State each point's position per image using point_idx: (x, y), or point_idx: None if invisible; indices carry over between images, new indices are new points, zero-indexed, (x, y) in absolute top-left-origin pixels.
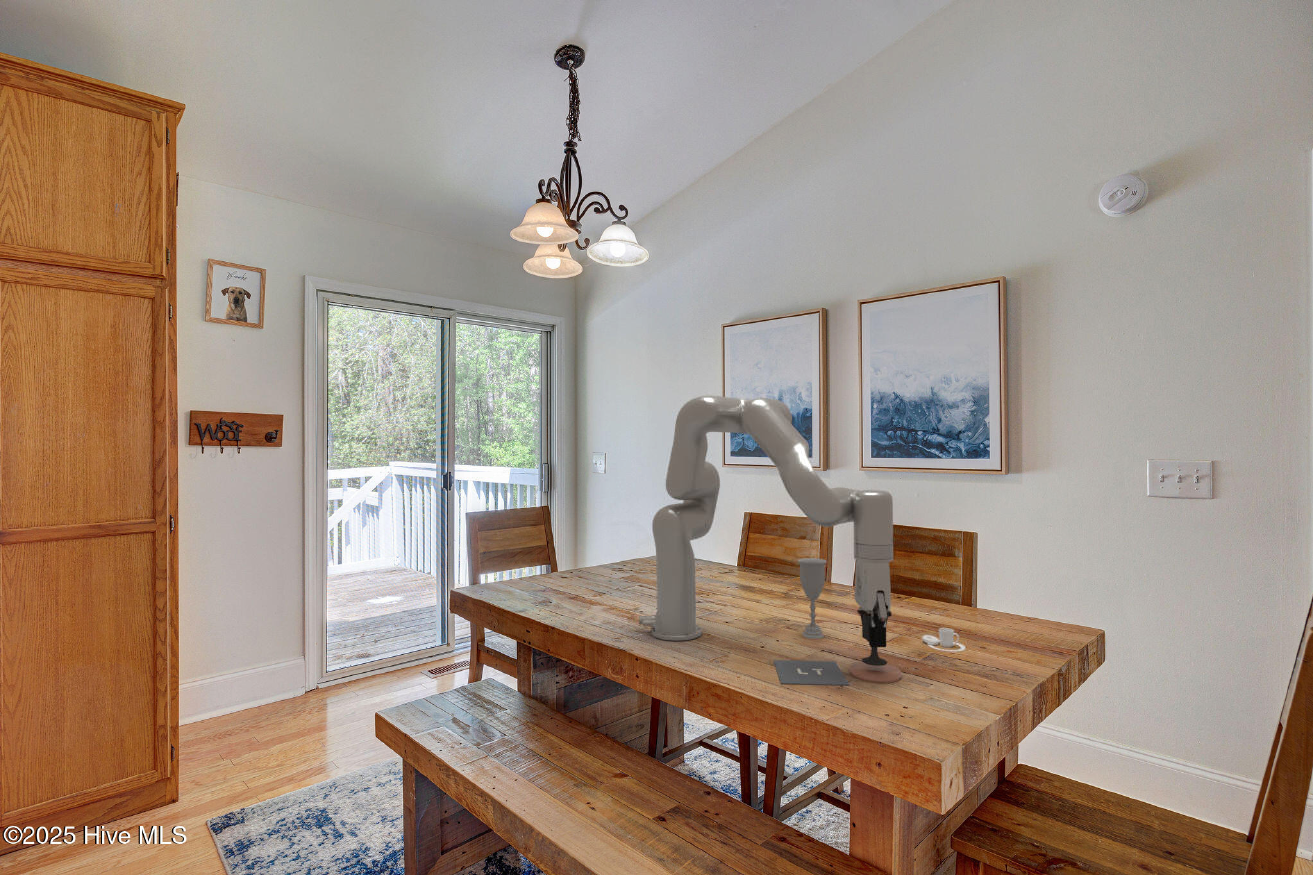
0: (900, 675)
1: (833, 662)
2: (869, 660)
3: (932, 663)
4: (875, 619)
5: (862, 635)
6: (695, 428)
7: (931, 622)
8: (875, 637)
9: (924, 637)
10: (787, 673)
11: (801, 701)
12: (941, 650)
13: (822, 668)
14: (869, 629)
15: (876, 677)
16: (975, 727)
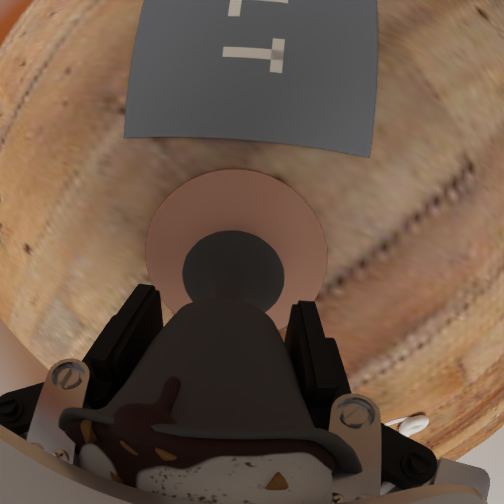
0: None
1: (355, 144)
2: (214, 258)
3: None
4: (3, 399)
5: (308, 305)
6: None
7: (474, 421)
8: (102, 333)
9: (419, 422)
10: None
11: (50, 14)
12: None
13: (289, 77)
14: (100, 342)
15: (157, 243)
16: (7, 322)
